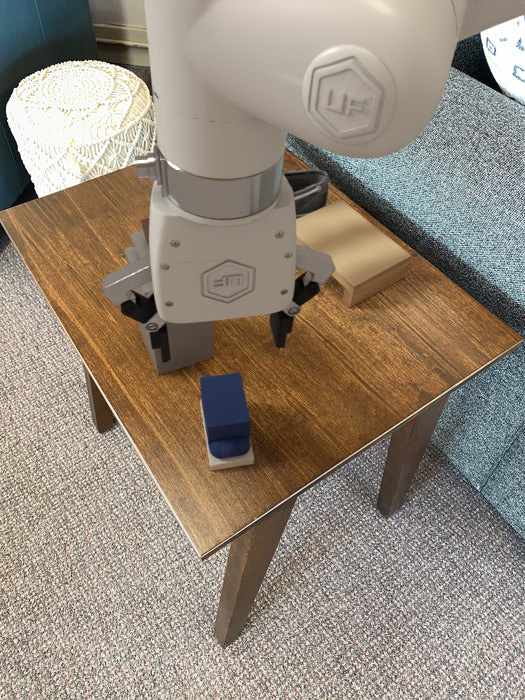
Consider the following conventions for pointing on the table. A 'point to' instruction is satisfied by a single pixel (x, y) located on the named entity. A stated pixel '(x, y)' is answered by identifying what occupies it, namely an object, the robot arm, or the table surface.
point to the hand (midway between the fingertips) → (221, 342)
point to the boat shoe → (308, 190)
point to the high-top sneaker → (226, 421)
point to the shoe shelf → (353, 250)
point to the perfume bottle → (184, 338)
